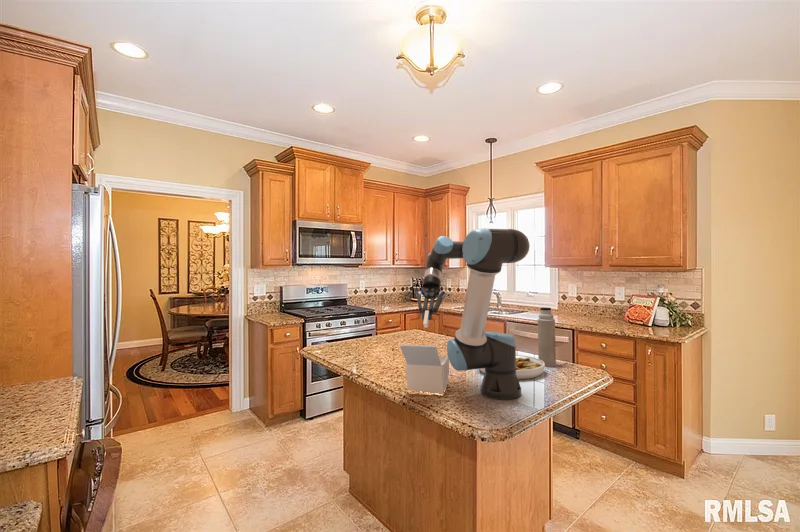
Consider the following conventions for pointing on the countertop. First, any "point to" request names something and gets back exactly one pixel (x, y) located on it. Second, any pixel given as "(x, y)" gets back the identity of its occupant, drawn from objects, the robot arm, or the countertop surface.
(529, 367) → the bowl
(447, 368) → the white carton
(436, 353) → the carton flap
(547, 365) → the thermos bottle
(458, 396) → the countertop surface
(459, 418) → the countertop surface
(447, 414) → the countertop surface
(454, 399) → the countertop surface
